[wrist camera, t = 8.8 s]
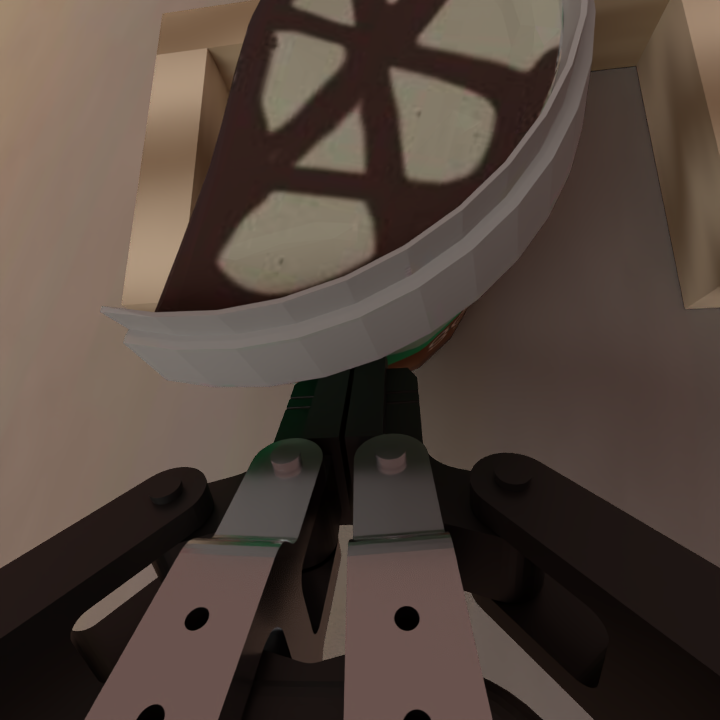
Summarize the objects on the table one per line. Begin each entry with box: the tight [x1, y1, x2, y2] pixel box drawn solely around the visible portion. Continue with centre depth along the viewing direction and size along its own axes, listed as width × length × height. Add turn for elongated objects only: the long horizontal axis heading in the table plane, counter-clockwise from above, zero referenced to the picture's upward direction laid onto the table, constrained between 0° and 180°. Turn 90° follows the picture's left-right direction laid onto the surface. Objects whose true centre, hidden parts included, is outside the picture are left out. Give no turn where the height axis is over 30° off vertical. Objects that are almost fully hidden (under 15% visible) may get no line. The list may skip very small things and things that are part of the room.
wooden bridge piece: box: [121, 0, 720, 312], centre depth 16 cm, size 12×20×3 cm, turn 90°
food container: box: [100, 0, 596, 387], centre depth 12 cm, size 12×6×10 cm, turn 166°
